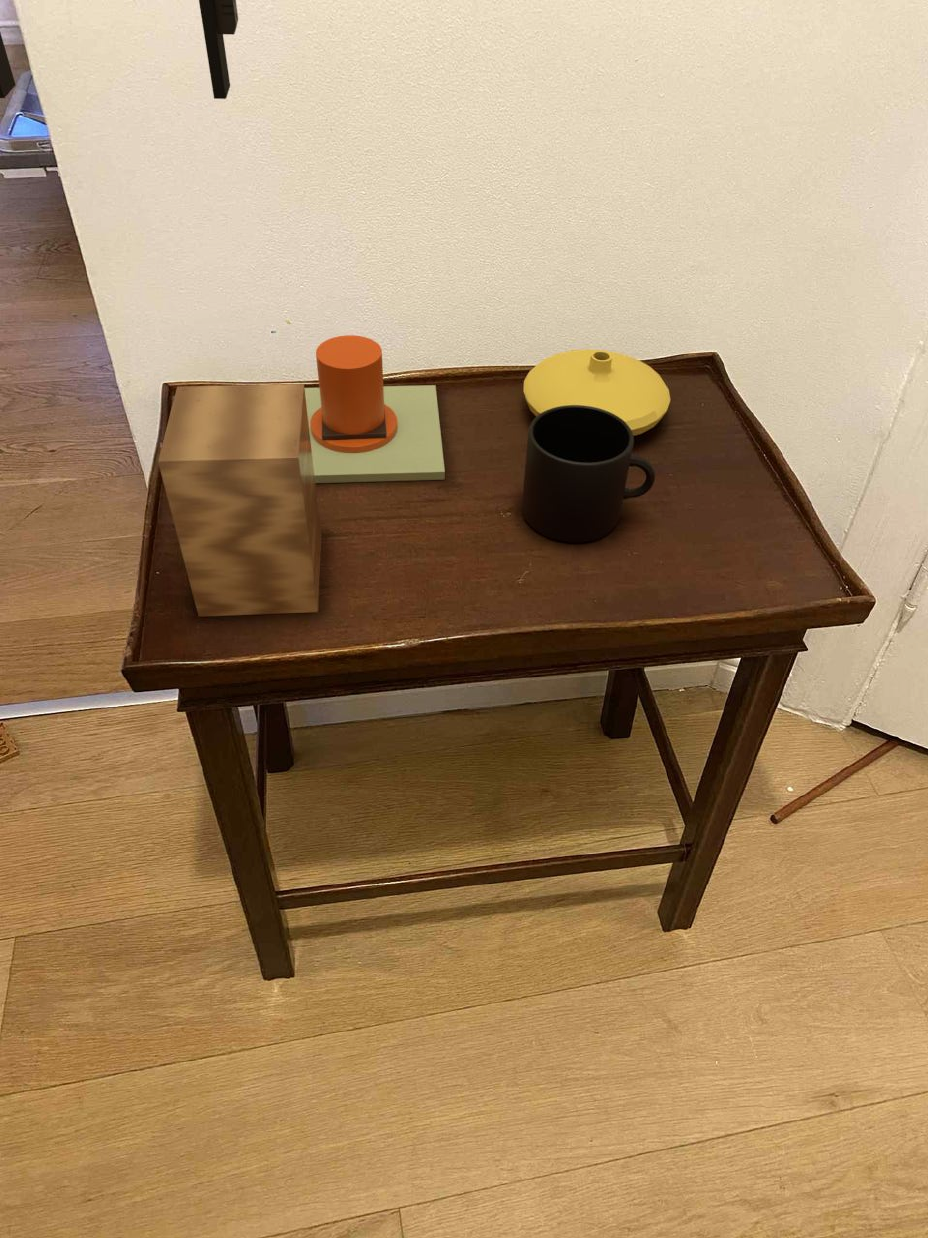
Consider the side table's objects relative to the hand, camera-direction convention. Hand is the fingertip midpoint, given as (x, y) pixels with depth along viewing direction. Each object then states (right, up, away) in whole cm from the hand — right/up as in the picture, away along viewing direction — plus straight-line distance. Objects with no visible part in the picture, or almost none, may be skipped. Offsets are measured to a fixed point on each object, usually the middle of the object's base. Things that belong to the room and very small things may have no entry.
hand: (114, 92), depth 58 cm
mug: (+34, -24, +30) cm, 51 cm away
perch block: (+5, -30, +22) cm, 38 cm away
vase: (+36, -11, +42) cm, 57 cm away
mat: (+11, -14, +38) cm, 42 cm away
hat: (+11, -14, +37) cm, 41 cm away
